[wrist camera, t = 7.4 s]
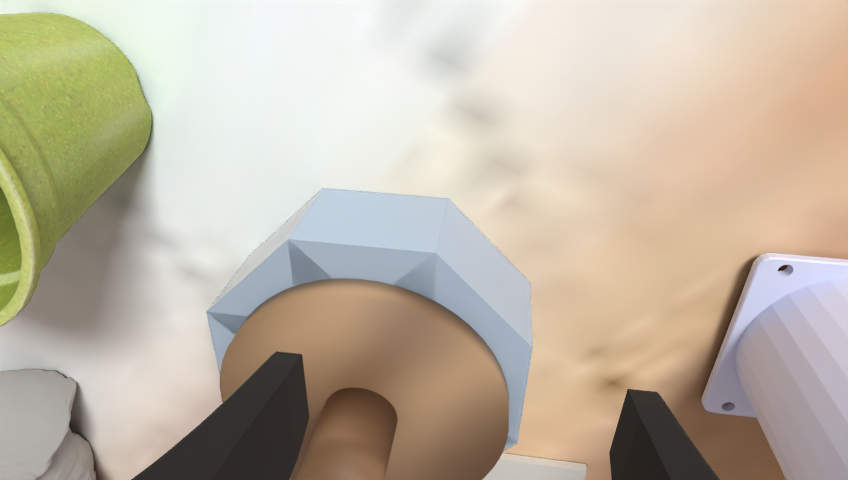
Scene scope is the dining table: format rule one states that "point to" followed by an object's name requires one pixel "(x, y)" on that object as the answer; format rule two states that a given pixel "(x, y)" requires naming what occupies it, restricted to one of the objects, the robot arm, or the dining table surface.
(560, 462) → the mat
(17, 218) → the plant pot
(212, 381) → the dining table surface
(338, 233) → the bowl
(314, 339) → the lid
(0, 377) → the grey clay mound
